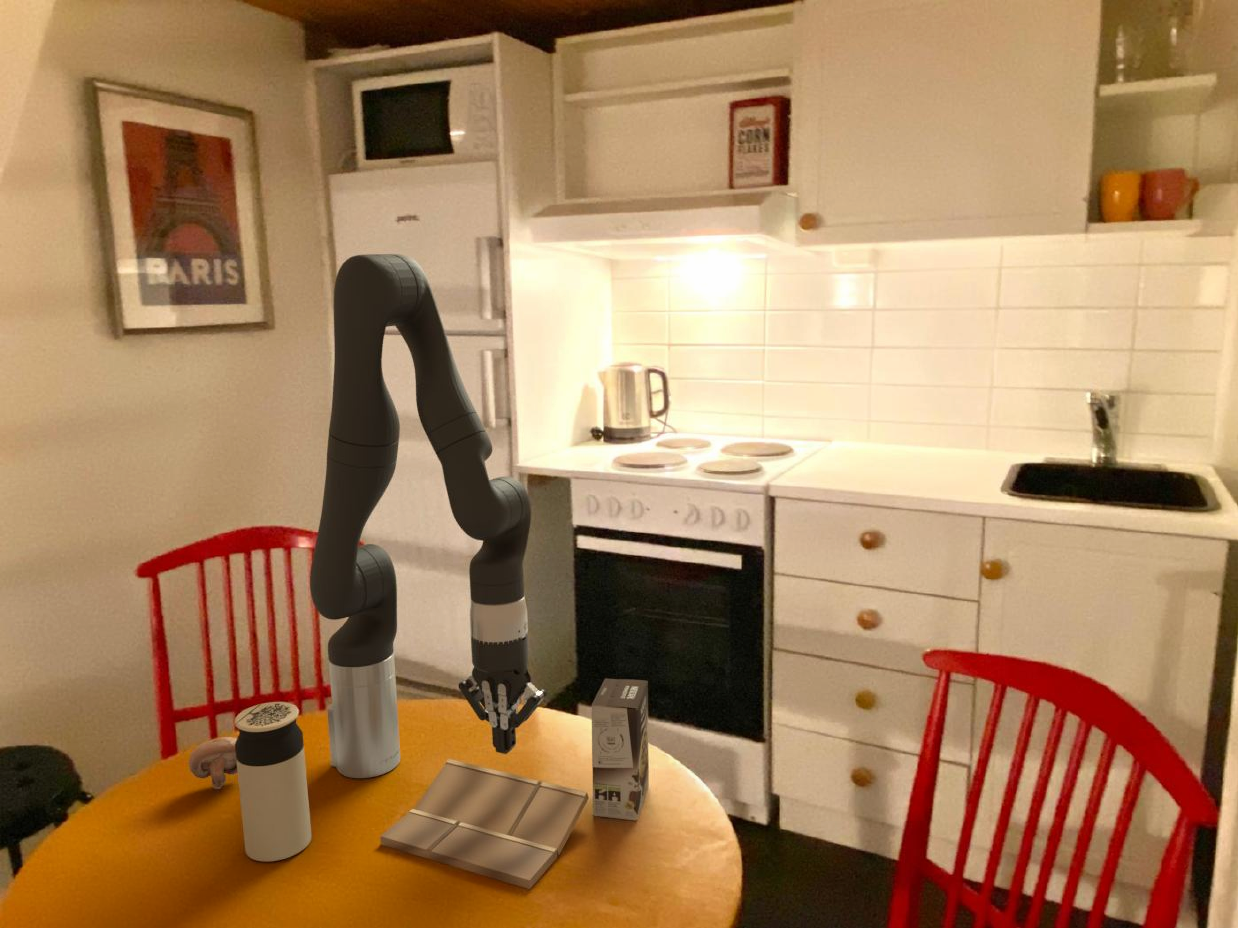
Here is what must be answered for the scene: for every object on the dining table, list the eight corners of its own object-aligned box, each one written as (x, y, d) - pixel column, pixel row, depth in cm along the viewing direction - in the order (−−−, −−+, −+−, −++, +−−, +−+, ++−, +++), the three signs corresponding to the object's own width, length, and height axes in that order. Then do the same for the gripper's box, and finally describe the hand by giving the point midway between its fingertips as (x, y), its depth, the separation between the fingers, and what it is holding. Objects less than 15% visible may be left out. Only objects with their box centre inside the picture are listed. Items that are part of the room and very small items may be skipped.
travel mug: (324, 833, 120) (313, 705, 117) (284, 869, 113) (271, 733, 109) (274, 822, 123) (262, 696, 119) (231, 856, 115) (217, 724, 112)
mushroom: (184, 799, 128) (178, 746, 127) (204, 776, 134) (198, 726, 133) (238, 799, 128) (233, 746, 127) (255, 776, 134) (250, 725, 133)
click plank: (415, 815, 124) (412, 808, 123) (450, 764, 131) (448, 758, 130) (558, 855, 115) (556, 848, 114) (588, 798, 122) (587, 791, 121)
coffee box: (639, 821, 122) (637, 708, 119) (591, 816, 123) (589, 704, 120) (650, 785, 130) (649, 679, 127) (606, 781, 132) (604, 675, 129)
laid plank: (380, 844, 117) (380, 835, 117) (413, 817, 123) (412, 808, 123) (529, 889, 108) (529, 879, 108) (557, 857, 114) (556, 847, 114)
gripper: (440, 631, 120) (448, 753, 124) (528, 646, 115) (533, 773, 118) (473, 613, 127) (479, 729, 130) (556, 626, 122) (561, 747, 125)
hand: (504, 750), depth 124 cm, fingers closed
